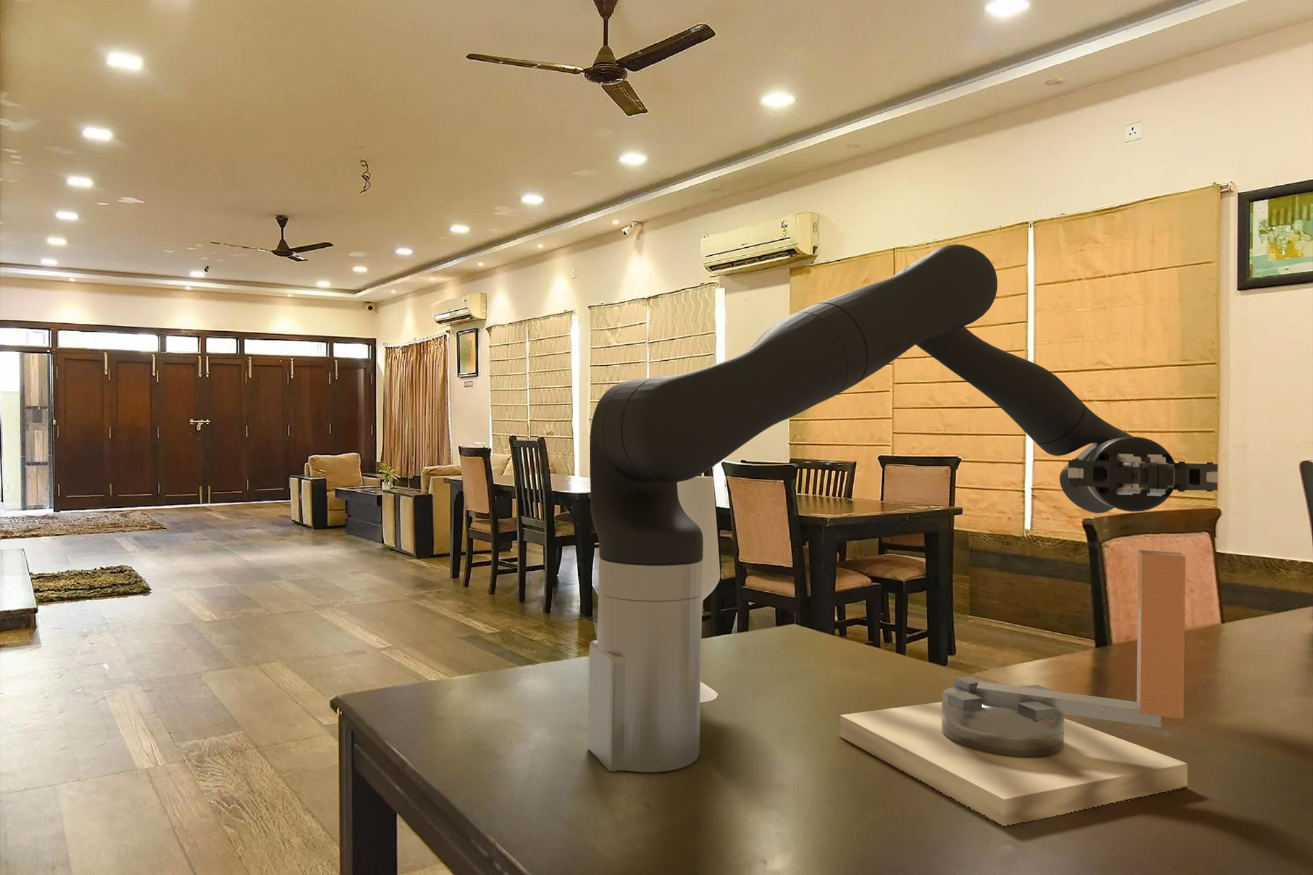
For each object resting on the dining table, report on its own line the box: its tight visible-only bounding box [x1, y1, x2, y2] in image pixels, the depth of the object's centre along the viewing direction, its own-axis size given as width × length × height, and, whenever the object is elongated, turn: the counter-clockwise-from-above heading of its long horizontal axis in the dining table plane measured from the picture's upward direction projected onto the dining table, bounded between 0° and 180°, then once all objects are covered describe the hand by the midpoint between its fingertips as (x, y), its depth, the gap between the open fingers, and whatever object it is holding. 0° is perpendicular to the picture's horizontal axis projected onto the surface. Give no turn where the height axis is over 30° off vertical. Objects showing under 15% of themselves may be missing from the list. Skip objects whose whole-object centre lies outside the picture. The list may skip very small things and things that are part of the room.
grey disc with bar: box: [941, 549, 1186, 756], centre depth 71 cm, size 18×10×17 cm, turn 64°
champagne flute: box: [677, 475, 721, 704], centre depth 91 cm, size 7×7×24 cm
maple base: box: [839, 701, 1189, 827], centre depth 73 cm, size 20×20×2 cm
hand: (1158, 476), depth 69 cm, fingers closed
